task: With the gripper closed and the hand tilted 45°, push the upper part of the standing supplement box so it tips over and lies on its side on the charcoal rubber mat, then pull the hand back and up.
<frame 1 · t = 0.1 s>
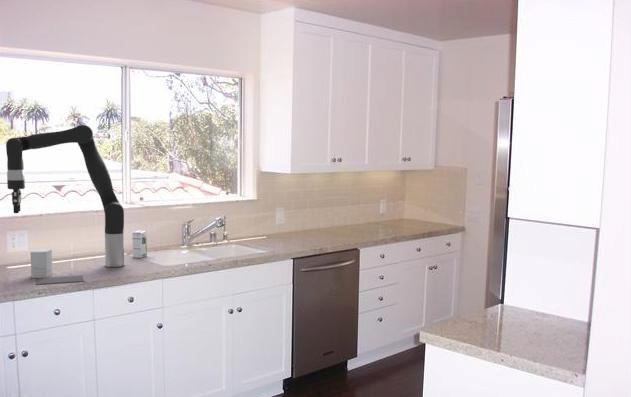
hand: (17, 212, 286), 29 cm above the countertop, tool pointing down, fingers open, 8 cm apart
syrup box: (139, 257, 331), on the countertop
rubber mat: (60, 280, 273), on the countertop
supplement box: (42, 276, 280), on the countertop
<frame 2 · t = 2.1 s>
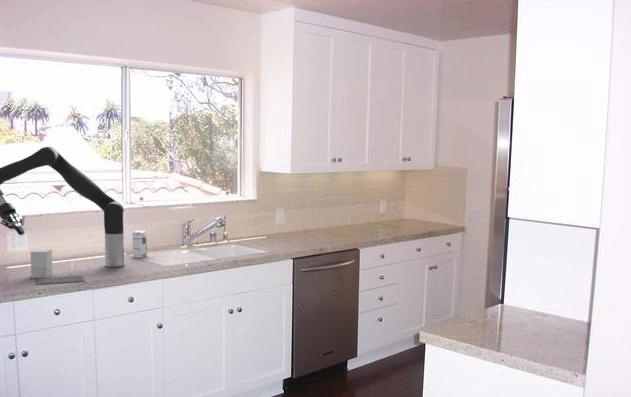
hand: (22, 233, 283), 19 cm above the countertop, tool tilted 45°, fingers closed
nothing on the countertop moved.
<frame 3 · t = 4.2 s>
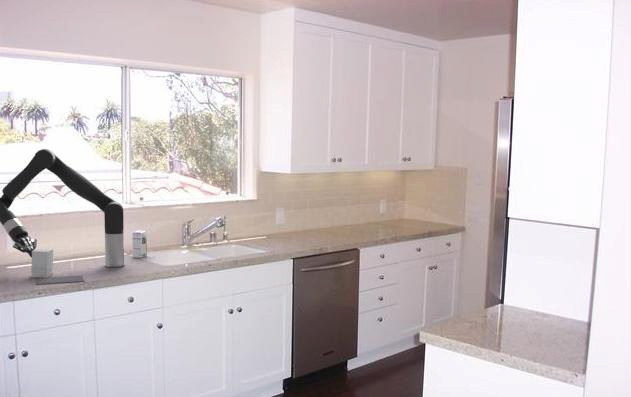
hand: (35, 257, 281), 9 cm above the countertop, tool tilted 45°, fingers closed
supplement box: (42, 276, 280), on the countertop, touching gripper
everything else where it was.
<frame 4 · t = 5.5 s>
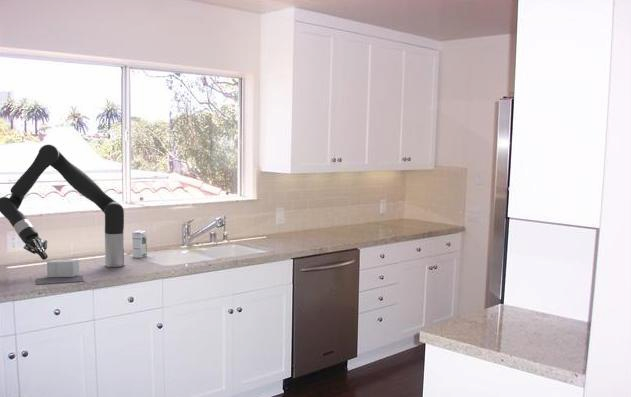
hand: (45, 258, 278), 9 cm above the countertop, tool tilted 45°, fingers closed
supplement box: (49, 268, 280), point 4 cm above the countertop, touching rubber mat
everything else where it was.
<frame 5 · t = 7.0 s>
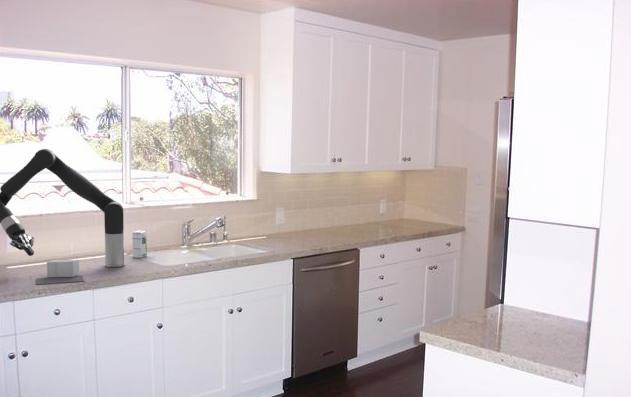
hand: (32, 254, 281), 10 cm above the countertop, tool tilted 45°, fingers closed
supplement box: (49, 268, 280), point 4 cm above the countertop, touching rubber mat
everything else where it was.
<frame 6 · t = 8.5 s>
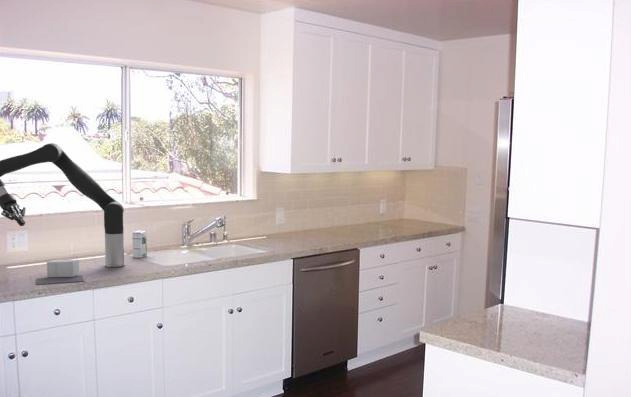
hand: (23, 224, 283), 24 cm above the countertop, tool tilted 45°, fingers closed
nothing on the countertop moved.
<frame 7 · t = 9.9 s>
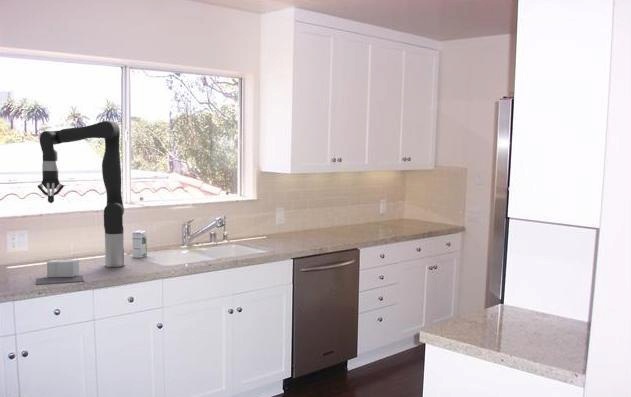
hand: (51, 202, 306), 32 cm above the countertop, tool pointing down, fingers closed
nothing on the countertop moved.
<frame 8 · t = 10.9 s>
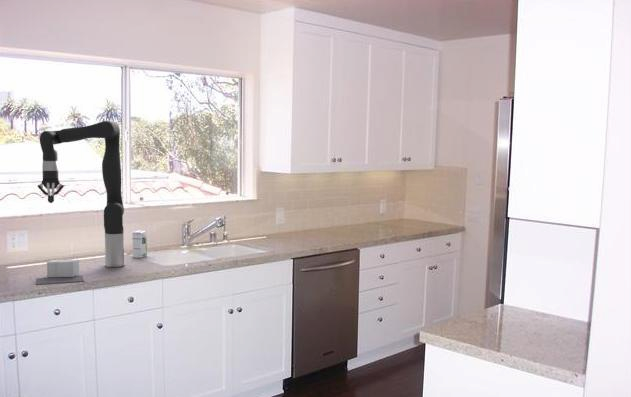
hand: (51, 202, 306), 32 cm above the countertop, tool pointing down, fingers closed
nothing on the countertop moved.
at the end: supplement box tilted 89°; supplement box touching rubber mat, countertop; the gripper is holding nothing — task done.
